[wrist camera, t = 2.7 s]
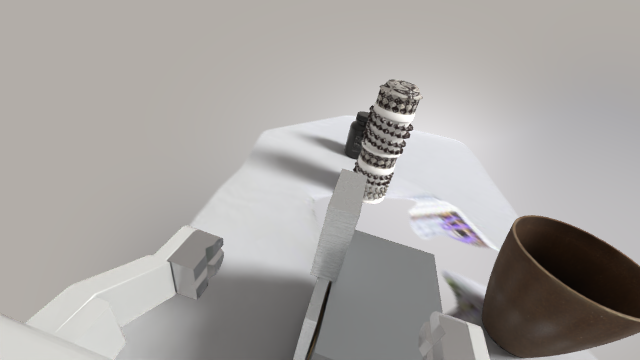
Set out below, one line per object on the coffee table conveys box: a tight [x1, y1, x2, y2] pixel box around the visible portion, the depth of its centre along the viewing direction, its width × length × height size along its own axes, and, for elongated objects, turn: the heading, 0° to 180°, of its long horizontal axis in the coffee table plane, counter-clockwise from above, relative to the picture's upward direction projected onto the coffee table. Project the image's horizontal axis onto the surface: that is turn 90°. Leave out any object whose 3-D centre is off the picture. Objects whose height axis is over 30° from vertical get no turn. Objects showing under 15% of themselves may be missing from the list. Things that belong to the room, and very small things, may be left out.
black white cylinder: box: [353, 80, 423, 204], centre depth 57 cm, size 9×9×25 cm
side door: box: [293, 169, 368, 360], centre depth 26 cm, size 10×2×20 cm, turn 166°
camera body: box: [307, 230, 442, 360], centre depth 29 cm, size 16×10×14 cm, turn 166°
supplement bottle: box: [345, 112, 373, 159], centre depth 76 cm, size 7×7×12 cm
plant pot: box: [482, 215, 640, 358], centre depth 36 cm, size 15×15×16 cm
